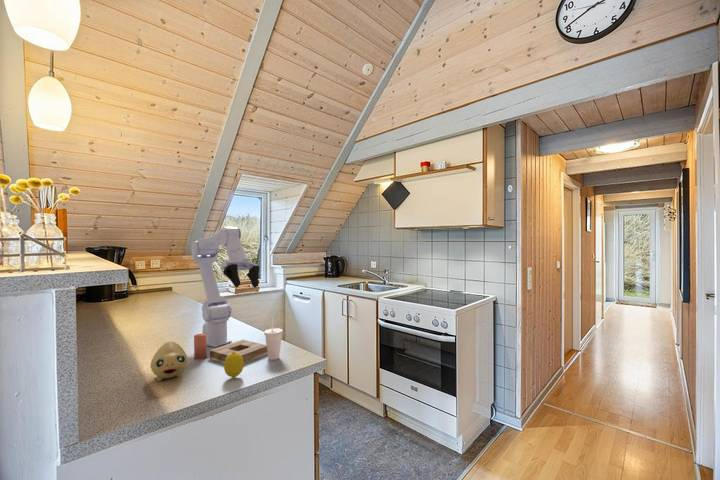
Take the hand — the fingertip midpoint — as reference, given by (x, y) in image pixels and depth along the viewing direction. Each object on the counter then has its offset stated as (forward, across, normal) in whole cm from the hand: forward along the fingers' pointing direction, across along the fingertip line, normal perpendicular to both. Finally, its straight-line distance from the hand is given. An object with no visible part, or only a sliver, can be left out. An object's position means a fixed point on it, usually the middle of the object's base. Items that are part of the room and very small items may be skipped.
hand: (247, 286), depth 113 cm
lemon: (+27, -8, +9) cm, 30 cm away
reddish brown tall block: (+12, -4, +29) cm, 32 cm away
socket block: (+17, +4, +20) cm, 26 cm away
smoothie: (+24, +10, +10) cm, 27 cm away
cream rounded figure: (+19, -18, +24) cm, 35 cm away
